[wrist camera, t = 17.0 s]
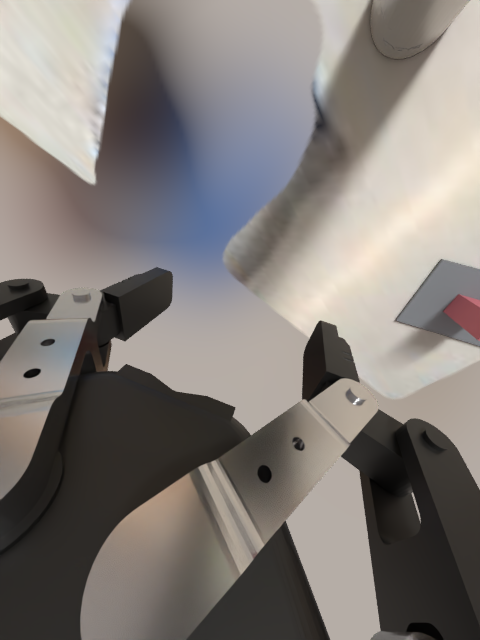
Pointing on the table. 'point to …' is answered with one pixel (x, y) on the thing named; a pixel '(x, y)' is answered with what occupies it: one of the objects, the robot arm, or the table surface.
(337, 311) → the table surface
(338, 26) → the table surface
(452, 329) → the rubber mat
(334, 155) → the table surface
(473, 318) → the card box
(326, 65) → the table surface
